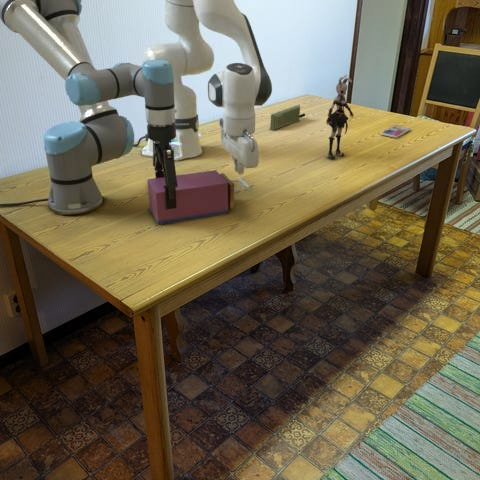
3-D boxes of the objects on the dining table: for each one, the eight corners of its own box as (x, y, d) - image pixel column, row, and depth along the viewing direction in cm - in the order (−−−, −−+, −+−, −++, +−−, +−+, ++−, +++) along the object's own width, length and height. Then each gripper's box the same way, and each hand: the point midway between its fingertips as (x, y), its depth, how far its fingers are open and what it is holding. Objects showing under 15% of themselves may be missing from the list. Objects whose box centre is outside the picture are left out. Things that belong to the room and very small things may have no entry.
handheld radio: (268, 129, 217) (300, 116, 234) (274, 130, 216) (306, 118, 233) (269, 113, 214) (302, 102, 231) (276, 115, 212) (308, 103, 229)
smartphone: (411, 128, 218) (397, 136, 208) (410, 130, 218) (396, 138, 208) (395, 124, 222) (380, 132, 211) (394, 126, 222) (380, 134, 212)
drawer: (240, 193, 157) (241, 170, 153) (252, 205, 149) (253, 181, 146) (161, 205, 148) (160, 181, 145) (169, 218, 141) (168, 193, 137)
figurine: (327, 162, 183) (336, 77, 168) (315, 158, 187) (322, 74, 172) (352, 153, 191) (362, 71, 177) (339, 149, 195) (348, 69, 181)
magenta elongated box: (216, 199, 155) (215, 170, 150) (227, 213, 147) (227, 182, 142) (149, 209, 148) (147, 179, 144) (158, 224, 140) (155, 193, 135)
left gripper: (187, 134, 124) (190, 215, 135) (164, 110, 143) (169, 183, 154) (157, 137, 122) (163, 219, 133) (138, 113, 140) (144, 186, 151)
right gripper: (265, 134, 133) (263, 183, 140) (236, 115, 150) (236, 160, 157) (242, 137, 131) (242, 186, 138) (216, 117, 148) (217, 162, 155)
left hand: (166, 200), depth 143 cm, fingers closed on magenta elongated box, 10 cm apart
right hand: (239, 172), depth 147 cm, fingers closed
